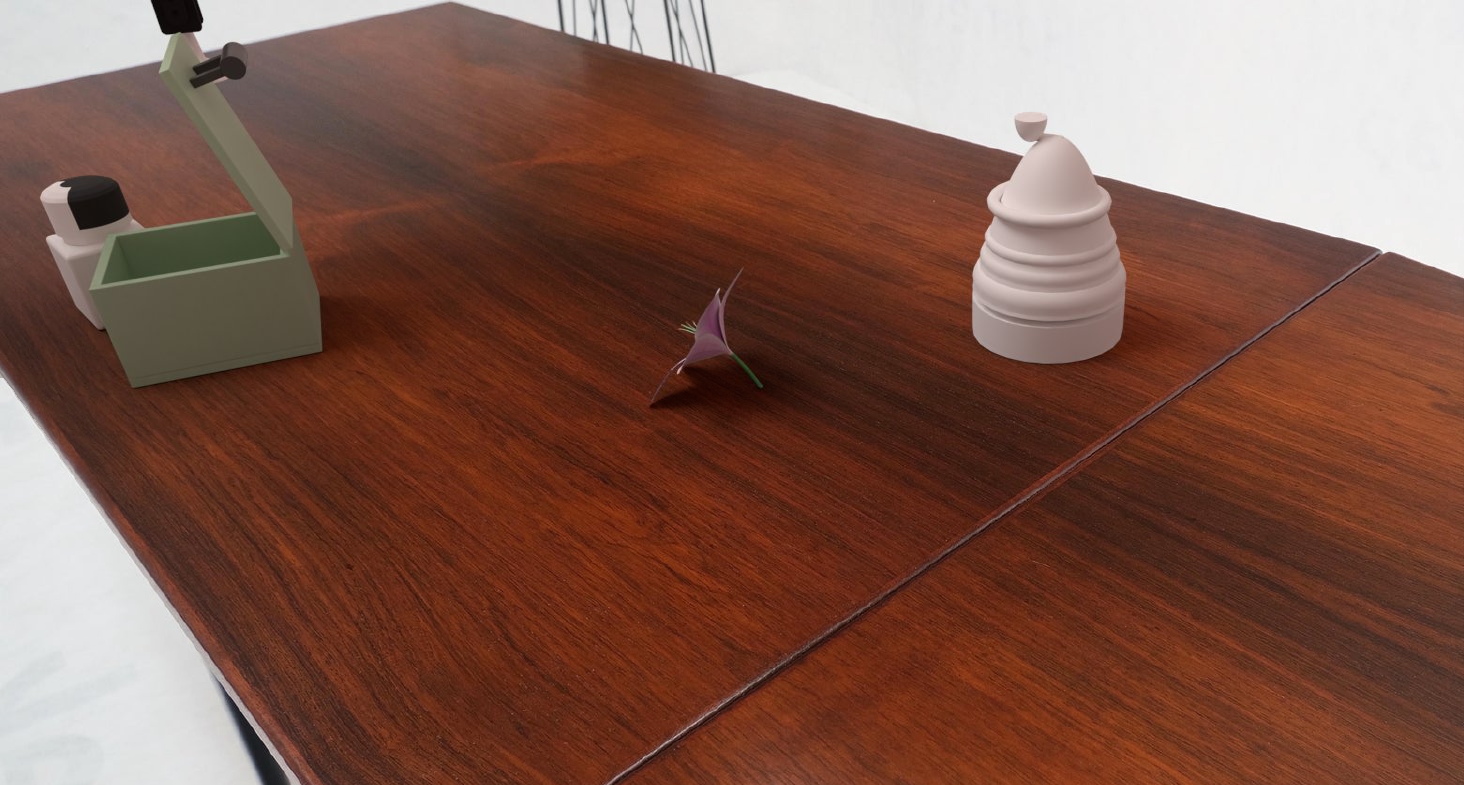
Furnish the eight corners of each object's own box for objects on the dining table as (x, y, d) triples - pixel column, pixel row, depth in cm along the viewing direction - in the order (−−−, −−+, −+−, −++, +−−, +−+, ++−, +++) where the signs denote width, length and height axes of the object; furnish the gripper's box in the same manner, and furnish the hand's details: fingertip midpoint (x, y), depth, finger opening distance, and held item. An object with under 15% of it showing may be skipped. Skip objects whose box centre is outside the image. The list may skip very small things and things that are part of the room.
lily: (746, 348, 104) (677, 261, 99) (835, 335, 96) (764, 239, 91) (664, 446, 98) (587, 359, 93) (751, 441, 90) (671, 344, 85)
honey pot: (951, 350, 101) (948, 137, 91) (999, 288, 111) (1001, 89, 100) (1101, 374, 97) (1116, 153, 86) (1137, 307, 106) (1155, 102, 96)
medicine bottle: (158, 284, 116) (108, 163, 109) (183, 306, 112) (132, 181, 105) (76, 308, 112) (19, 183, 105) (99, 332, 108) (41, 203, 101)
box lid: (157, 73, 89) (223, 46, 89) (170, 35, 98) (229, 11, 99) (283, 253, 98) (341, 227, 99) (284, 202, 108) (336, 179, 109)
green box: (132, 388, 99) (88, 290, 94) (146, 326, 109) (106, 234, 104) (322, 351, 104) (290, 256, 99) (319, 295, 113) (289, 205, 108)
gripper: (61, -214, 101) (143, 15, 111) (34, -202, 89) (128, 55, 99) (161, -218, 104) (232, 7, 114) (148, -207, 92) (228, 44, 102)
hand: (183, 27), depth 107 cm, fingers closed
